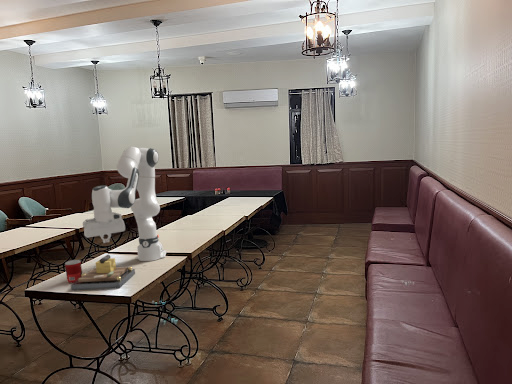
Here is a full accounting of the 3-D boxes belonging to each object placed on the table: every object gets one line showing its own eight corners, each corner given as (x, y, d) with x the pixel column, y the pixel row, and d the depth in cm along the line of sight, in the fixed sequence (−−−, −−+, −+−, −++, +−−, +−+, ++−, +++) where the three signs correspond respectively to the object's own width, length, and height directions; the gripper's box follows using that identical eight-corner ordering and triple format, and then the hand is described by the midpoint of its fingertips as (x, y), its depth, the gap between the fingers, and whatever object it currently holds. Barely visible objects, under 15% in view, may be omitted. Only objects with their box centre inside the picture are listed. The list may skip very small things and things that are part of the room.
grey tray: (91, 275, 230) (90, 267, 229) (135, 273, 228) (134, 265, 228) (71, 290, 208) (70, 281, 208) (119, 288, 206) (118, 278, 206)
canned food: (85, 280, 224) (82, 261, 222) (70, 284, 218) (67, 264, 217) (79, 277, 229) (77, 258, 228) (65, 281, 224) (62, 262, 222)
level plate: (94, 270, 228) (92, 254, 227) (128, 269, 227) (126, 252, 226) (78, 282, 210) (75, 264, 208) (115, 280, 208) (112, 262, 207)
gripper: (83, 220, 200) (86, 247, 202) (124, 214, 211) (127, 239, 213) (81, 219, 205) (84, 245, 207) (121, 213, 216) (124, 237, 218)
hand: (106, 242), depth 210 cm, fingers closed
